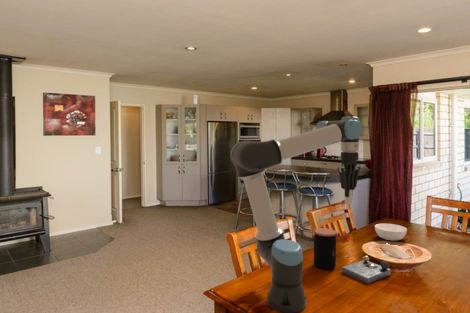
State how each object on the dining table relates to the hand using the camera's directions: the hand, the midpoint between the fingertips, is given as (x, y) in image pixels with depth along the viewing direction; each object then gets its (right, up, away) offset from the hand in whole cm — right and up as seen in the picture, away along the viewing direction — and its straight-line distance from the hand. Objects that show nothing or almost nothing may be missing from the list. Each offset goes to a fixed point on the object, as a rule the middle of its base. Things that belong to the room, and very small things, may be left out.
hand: (348, 203), depth 147 cm
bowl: (+46, -31, +58) cm, 80 cm away
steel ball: (+15, -32, +9) cm, 36 cm away
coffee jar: (-7, -34, +15) cm, 37 cm away
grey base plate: (+11, -34, +7) cm, 36 cm away
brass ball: (+14, -29, +14) cm, 36 cm away
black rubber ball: (+19, -30, +6) cm, 36 cm away
